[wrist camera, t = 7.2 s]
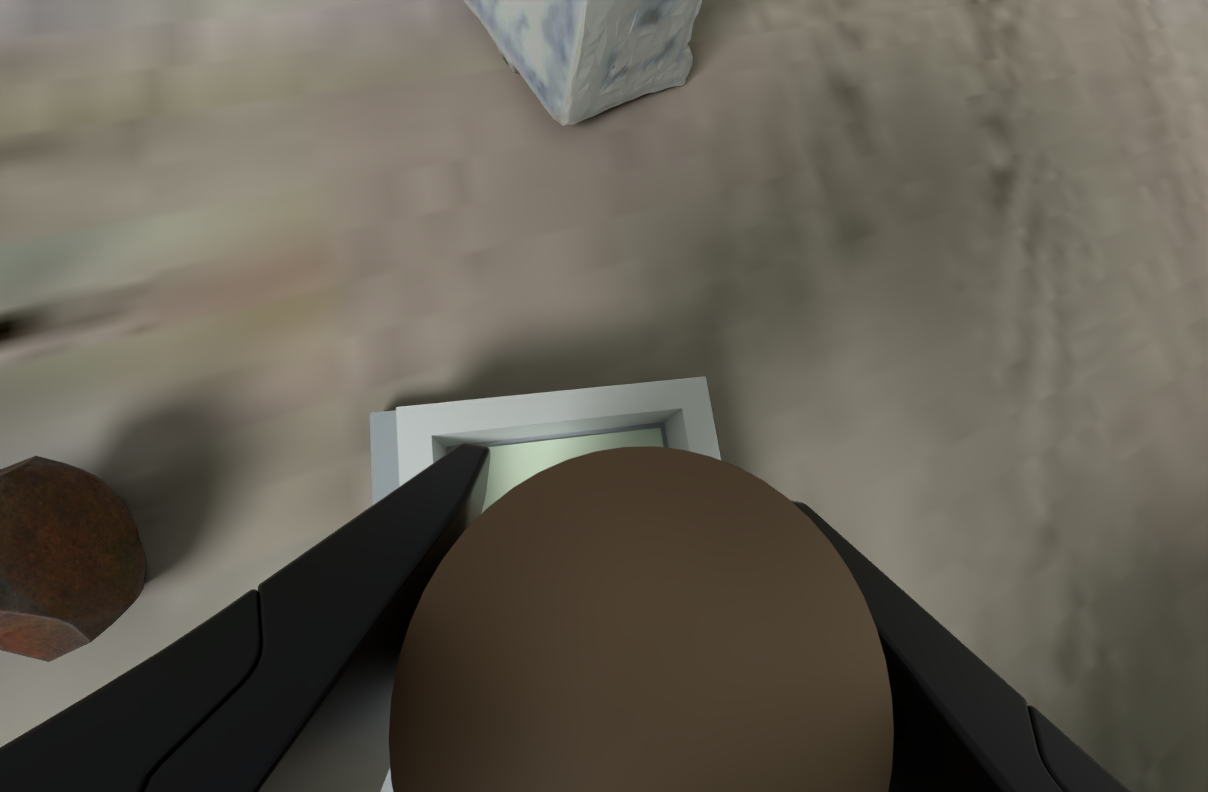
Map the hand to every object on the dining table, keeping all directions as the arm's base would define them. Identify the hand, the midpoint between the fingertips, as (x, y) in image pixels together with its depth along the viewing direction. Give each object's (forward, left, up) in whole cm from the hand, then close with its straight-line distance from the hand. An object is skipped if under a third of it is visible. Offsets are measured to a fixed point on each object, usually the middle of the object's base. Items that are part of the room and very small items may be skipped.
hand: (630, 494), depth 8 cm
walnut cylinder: (-2, +1, -8) cm, 8 cm away
